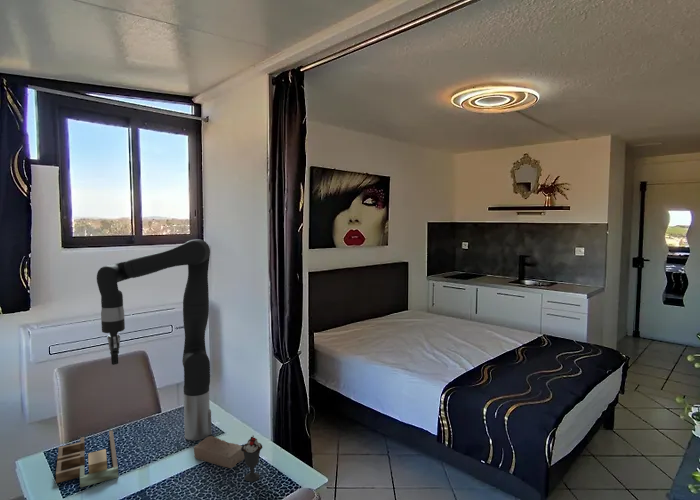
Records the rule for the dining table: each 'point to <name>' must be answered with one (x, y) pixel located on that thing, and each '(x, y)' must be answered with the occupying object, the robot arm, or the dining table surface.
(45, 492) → the dining table surface
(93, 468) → the block
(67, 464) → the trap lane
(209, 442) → the brick
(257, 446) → the sundae
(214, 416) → the dining table surface
